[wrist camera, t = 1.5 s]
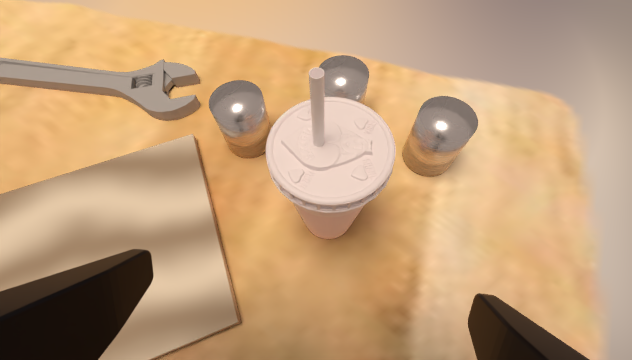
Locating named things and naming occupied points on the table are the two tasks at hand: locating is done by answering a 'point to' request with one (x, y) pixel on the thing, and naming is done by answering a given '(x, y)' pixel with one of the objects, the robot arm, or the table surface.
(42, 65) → the adjustable wrench
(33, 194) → the pad
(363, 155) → the smoothie
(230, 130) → the posts
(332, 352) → the table surface
